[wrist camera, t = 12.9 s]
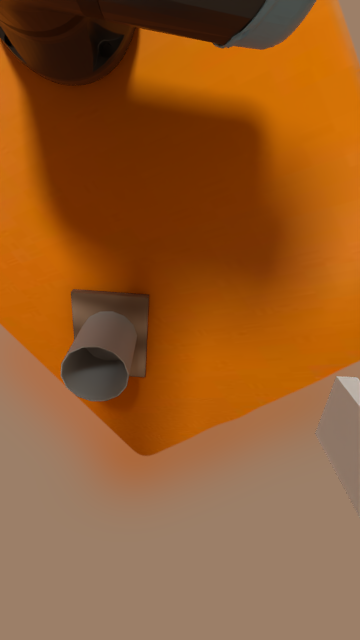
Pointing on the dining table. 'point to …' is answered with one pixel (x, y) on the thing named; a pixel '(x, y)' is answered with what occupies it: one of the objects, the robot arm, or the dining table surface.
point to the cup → (100, 357)
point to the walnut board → (123, 304)
